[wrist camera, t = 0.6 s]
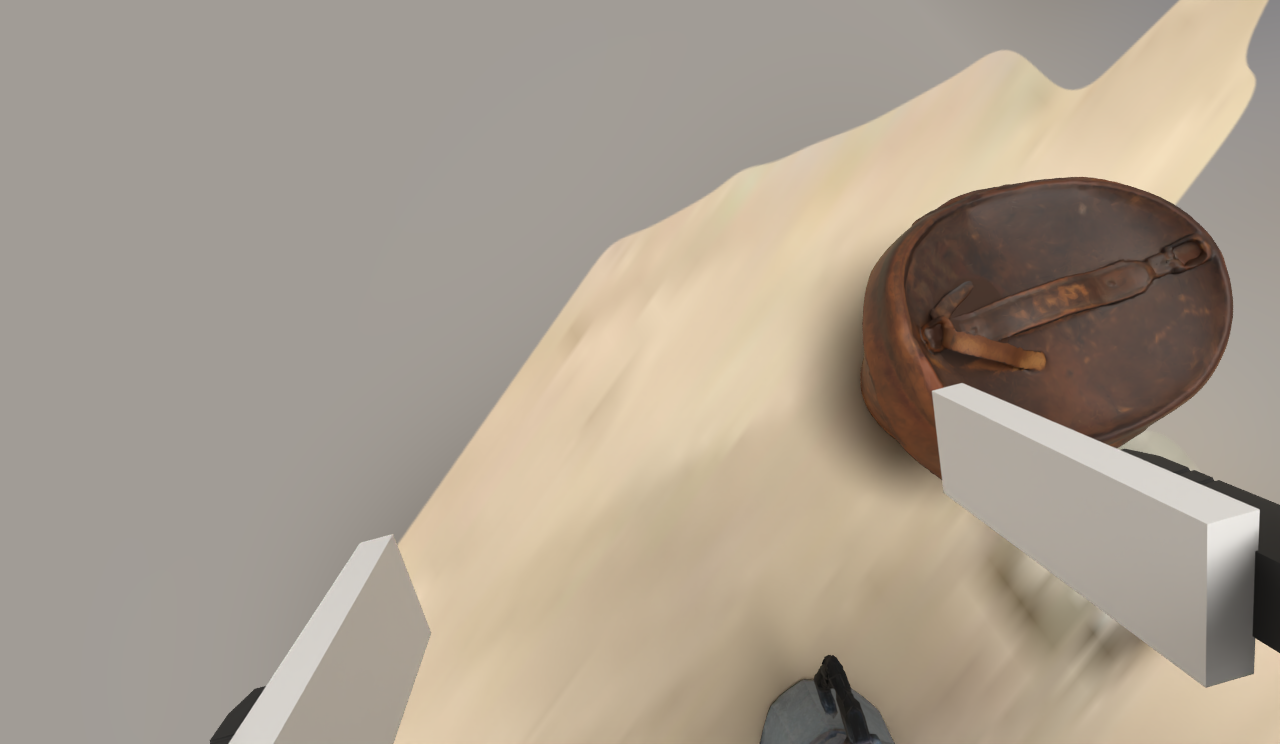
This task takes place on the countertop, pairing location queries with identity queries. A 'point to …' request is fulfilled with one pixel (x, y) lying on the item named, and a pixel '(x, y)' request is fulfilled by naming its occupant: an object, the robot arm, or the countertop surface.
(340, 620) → the robot arm
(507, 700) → the countertop surface
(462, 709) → the countertop surface
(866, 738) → the moka pot
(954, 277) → the case
